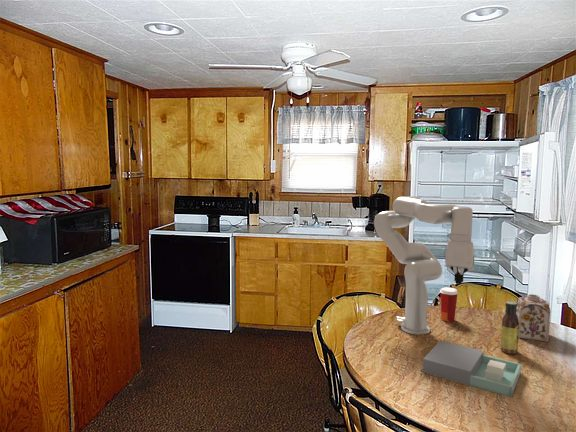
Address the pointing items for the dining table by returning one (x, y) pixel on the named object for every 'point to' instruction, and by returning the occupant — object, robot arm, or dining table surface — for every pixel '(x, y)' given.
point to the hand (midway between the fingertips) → (458, 283)
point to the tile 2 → (493, 376)
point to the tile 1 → (496, 367)
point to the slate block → (453, 362)
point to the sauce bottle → (510, 329)
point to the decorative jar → (533, 318)
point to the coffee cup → (448, 303)
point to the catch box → (502, 387)
